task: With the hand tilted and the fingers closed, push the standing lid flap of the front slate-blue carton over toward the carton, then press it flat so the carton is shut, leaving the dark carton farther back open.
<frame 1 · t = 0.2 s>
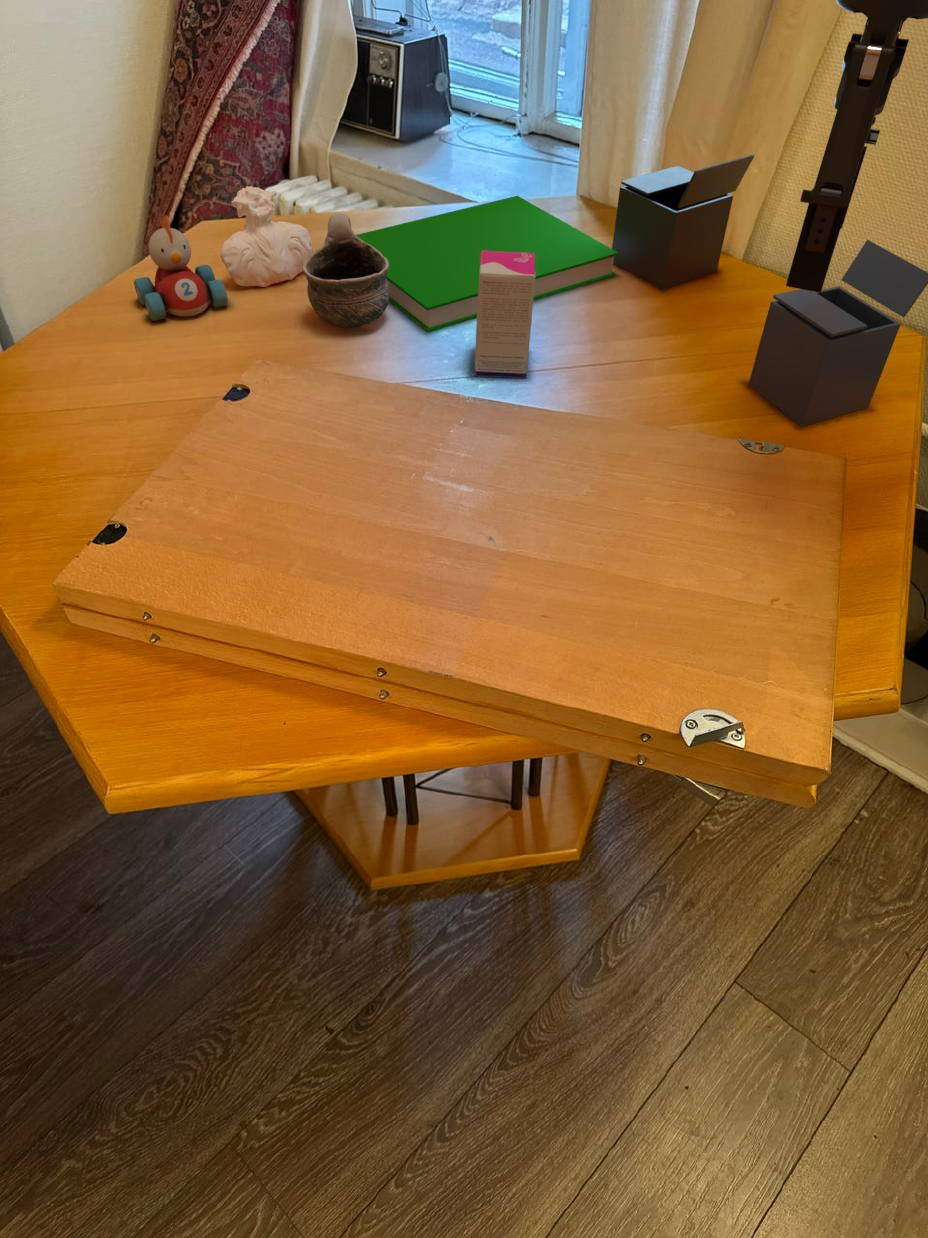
hand: (815, 254, 75), 19 cm above the table, tool pointing down, fingers open, 13 cm apart
supplement box: (501, 365, 98), on the table
toy car: (184, 305, 107), on the table
back flap: (715, 181, 104), point 12 cm above the table, hinge at 110.0°
bust: (268, 276, 113), on the table
mug: (347, 315, 106), on the table
back carton: (663, 266, 116), on the table
front flap: (885, 277, 88), point 12 cm above the table, hinge at 115.0°
book: (475, 269, 115), on the table
front carton: (807, 395, 95), on the table
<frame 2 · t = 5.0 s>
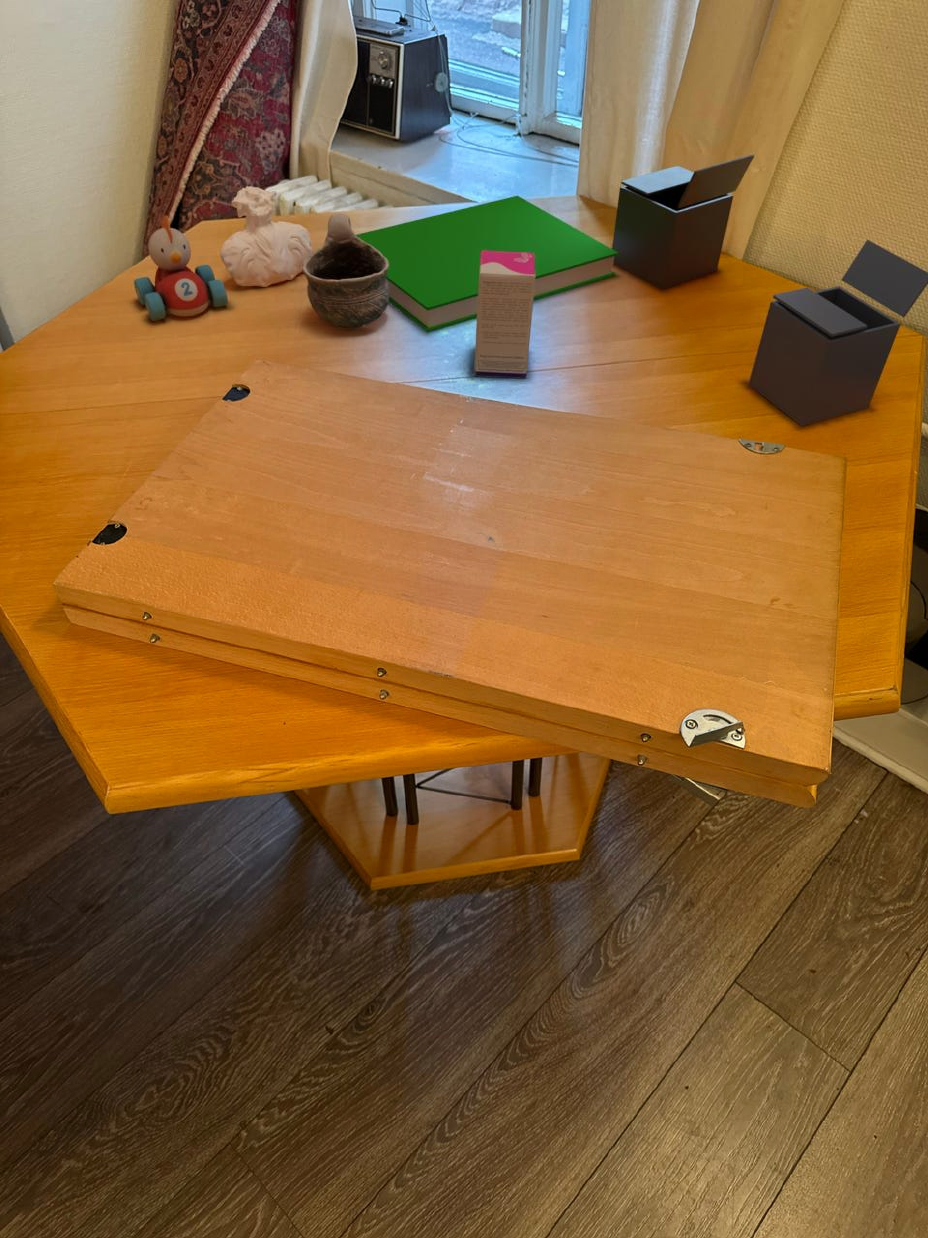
nothing on the table moved.
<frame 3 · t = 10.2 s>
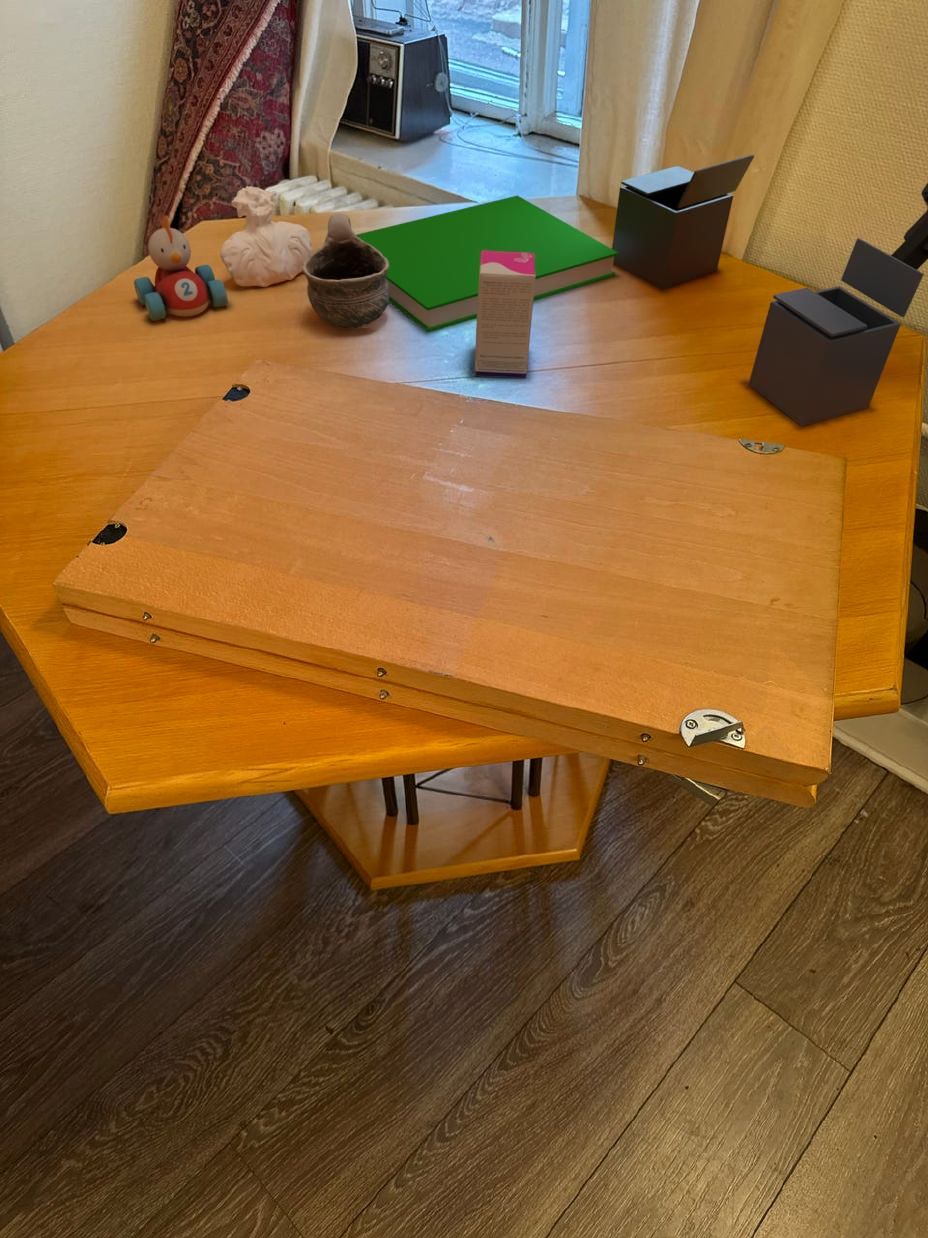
hand: (890, 276, 88), 12 cm above the table, tool tilted 45°, fingers closed
front flap: (880, 277, 87), point 12 cm above the table, hinge at 95.1°, touching gripper
everything else where it was.
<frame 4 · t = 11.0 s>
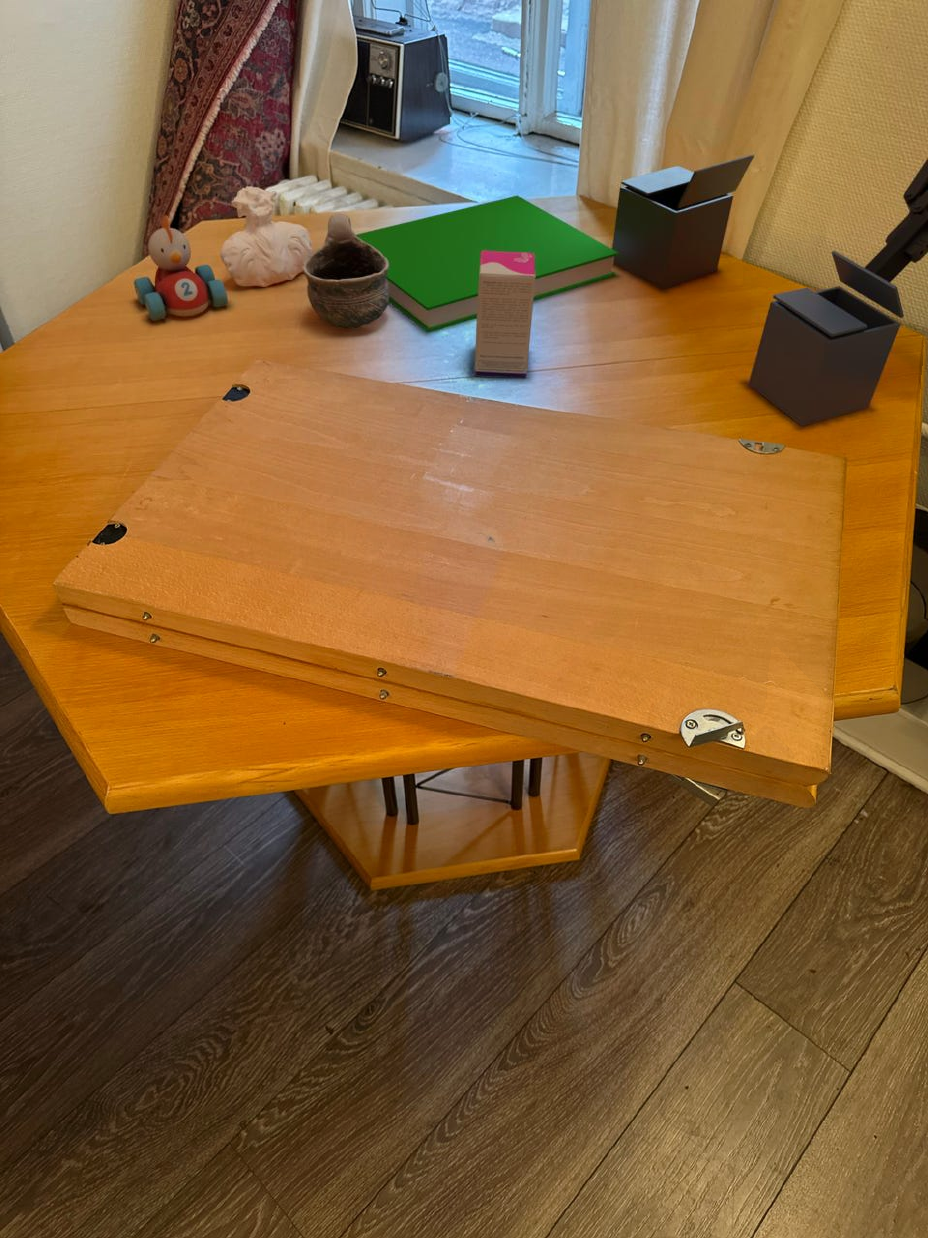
hand: (872, 279, 87), 12 cm above the table, tool tilted 45°, fingers closed
front flap: (867, 283, 87), point 12 cm above the table, hinge at 54.0°, touching gripper
everything else where it was.
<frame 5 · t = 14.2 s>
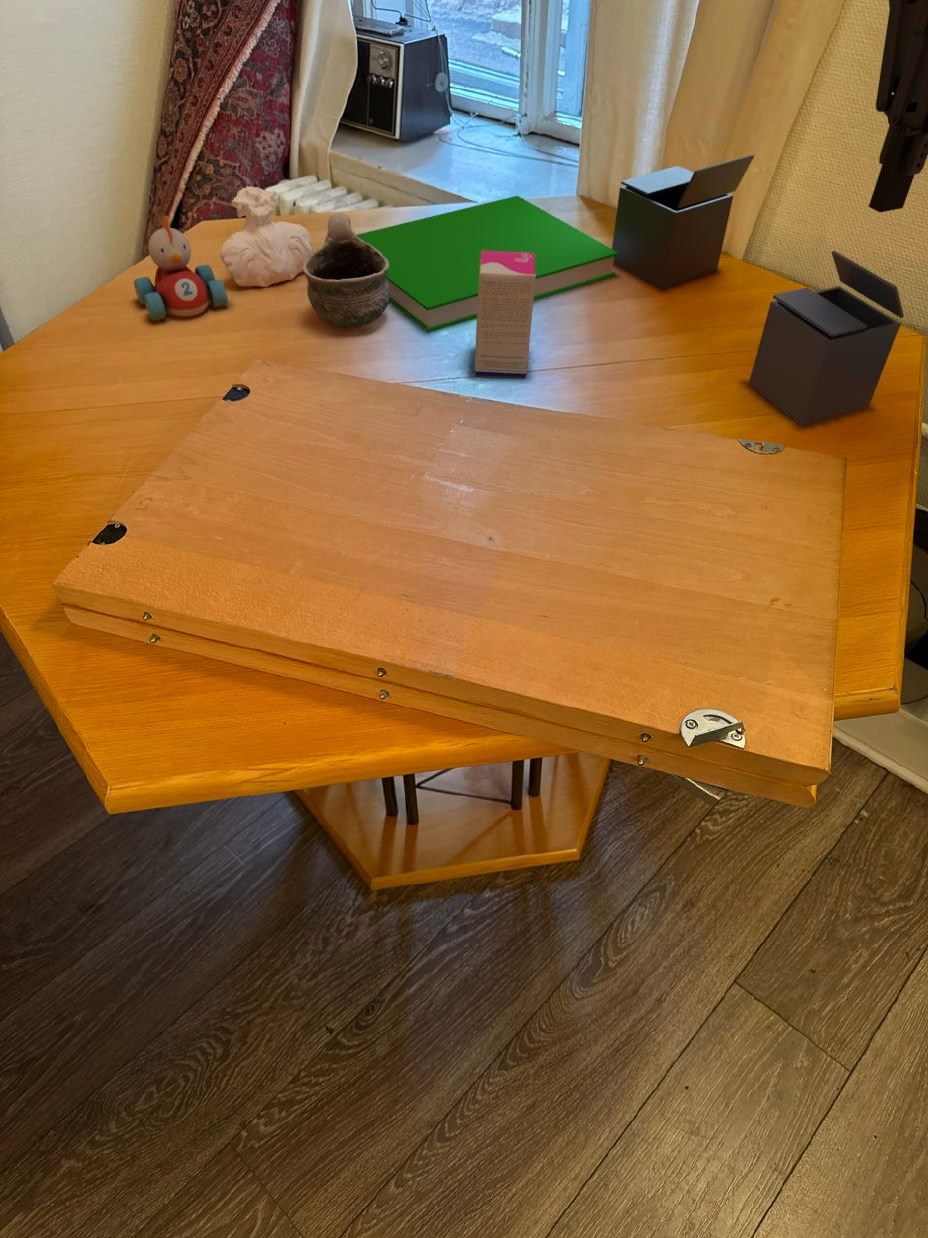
hand: (885, 206, 82), 19 cm above the table, tool pointing down, fingers closed
front flap: (867, 283, 87), point 12 cm above the table, hinge at 53.9°
everything else where it was.
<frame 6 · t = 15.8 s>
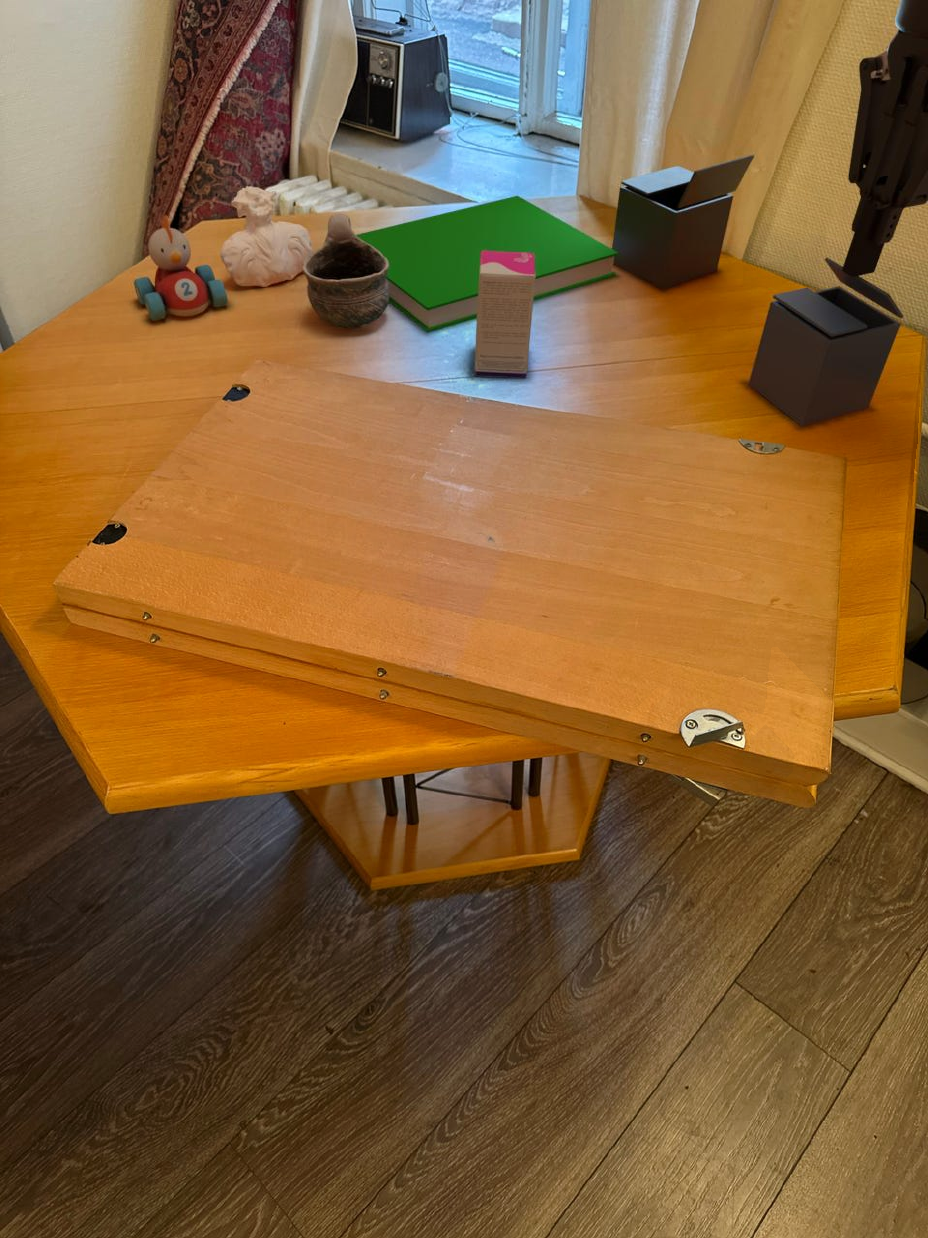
hand: (857, 271, 86), 13 cm above the table, tool pointing down, fingers closed
front flap: (863, 287, 87), point 11 cm above the table, hinge at 42.0°
everything else where it was.
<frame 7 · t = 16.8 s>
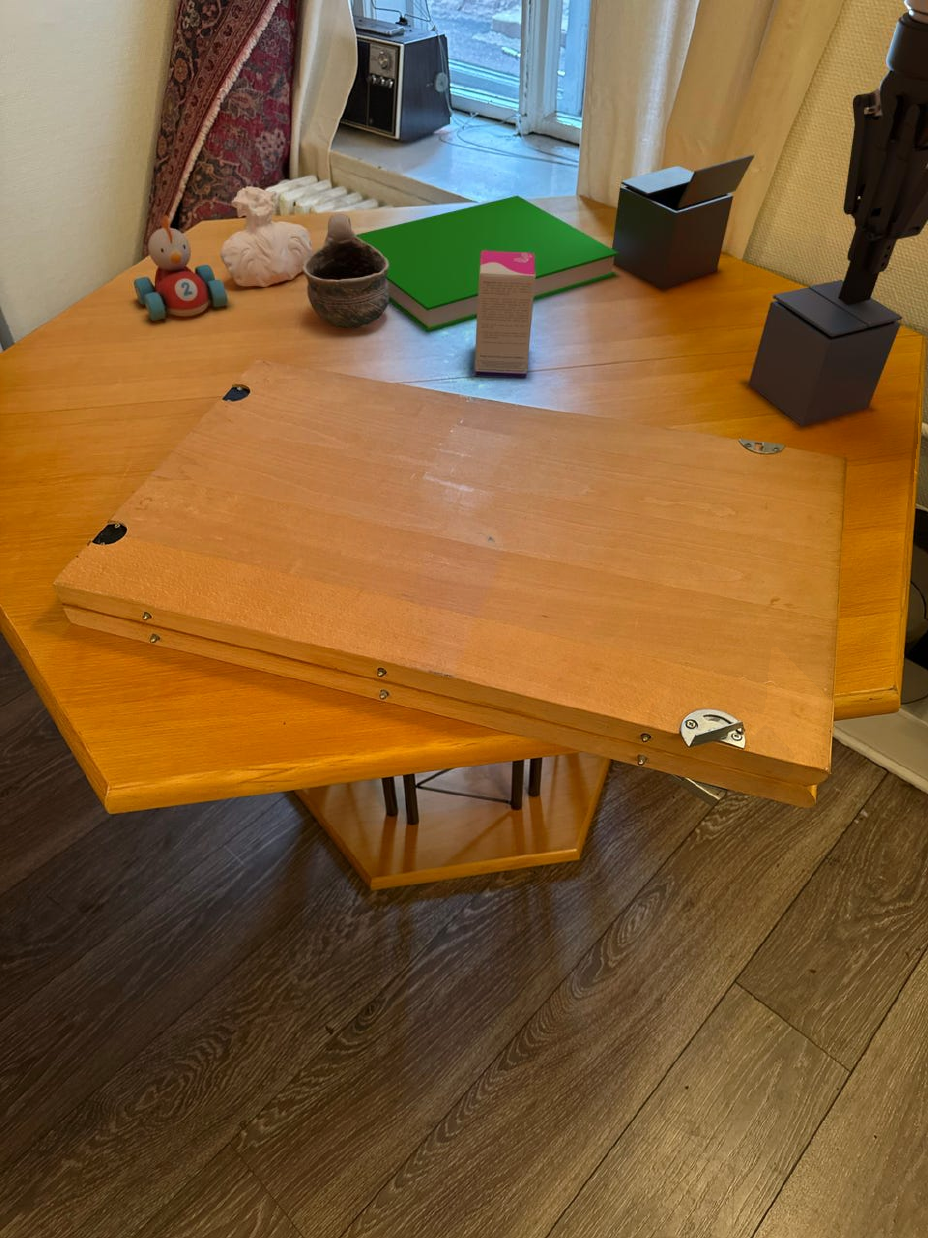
hand: (854, 298, 88), 10 cm above the table, tool pointing down, fingers closed
front flap: (854, 302, 88), point 10 cm above the table, hinge at 1.0°, touching gripper
everything else where it was.
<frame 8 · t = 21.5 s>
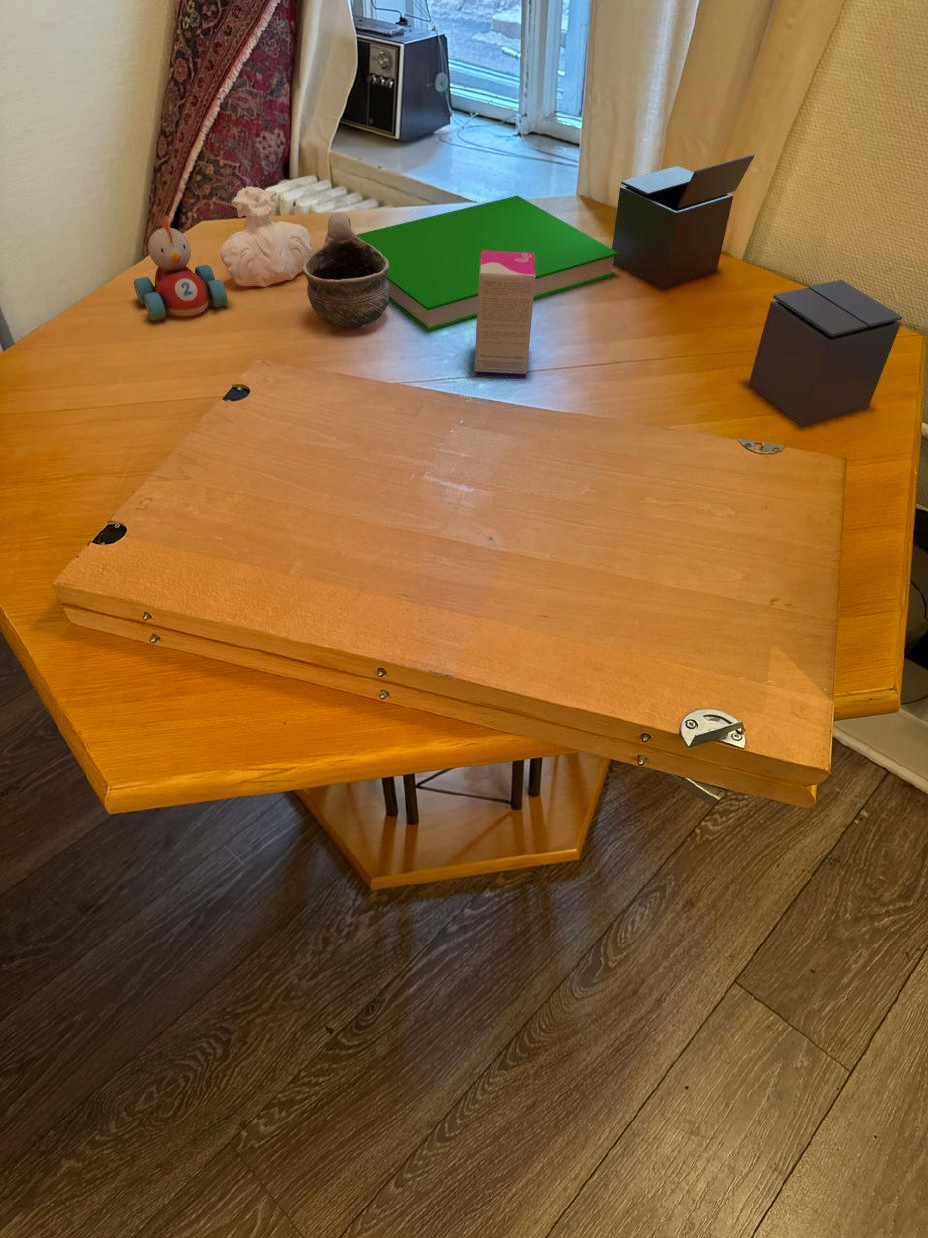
front flap: (854, 302, 88), point 10 cm above the table, hinge at 0.9°
everything else where it was.
at the end: front flap at +1° (first picture: +115°); back flap at +110° (first picture: +110°) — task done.
